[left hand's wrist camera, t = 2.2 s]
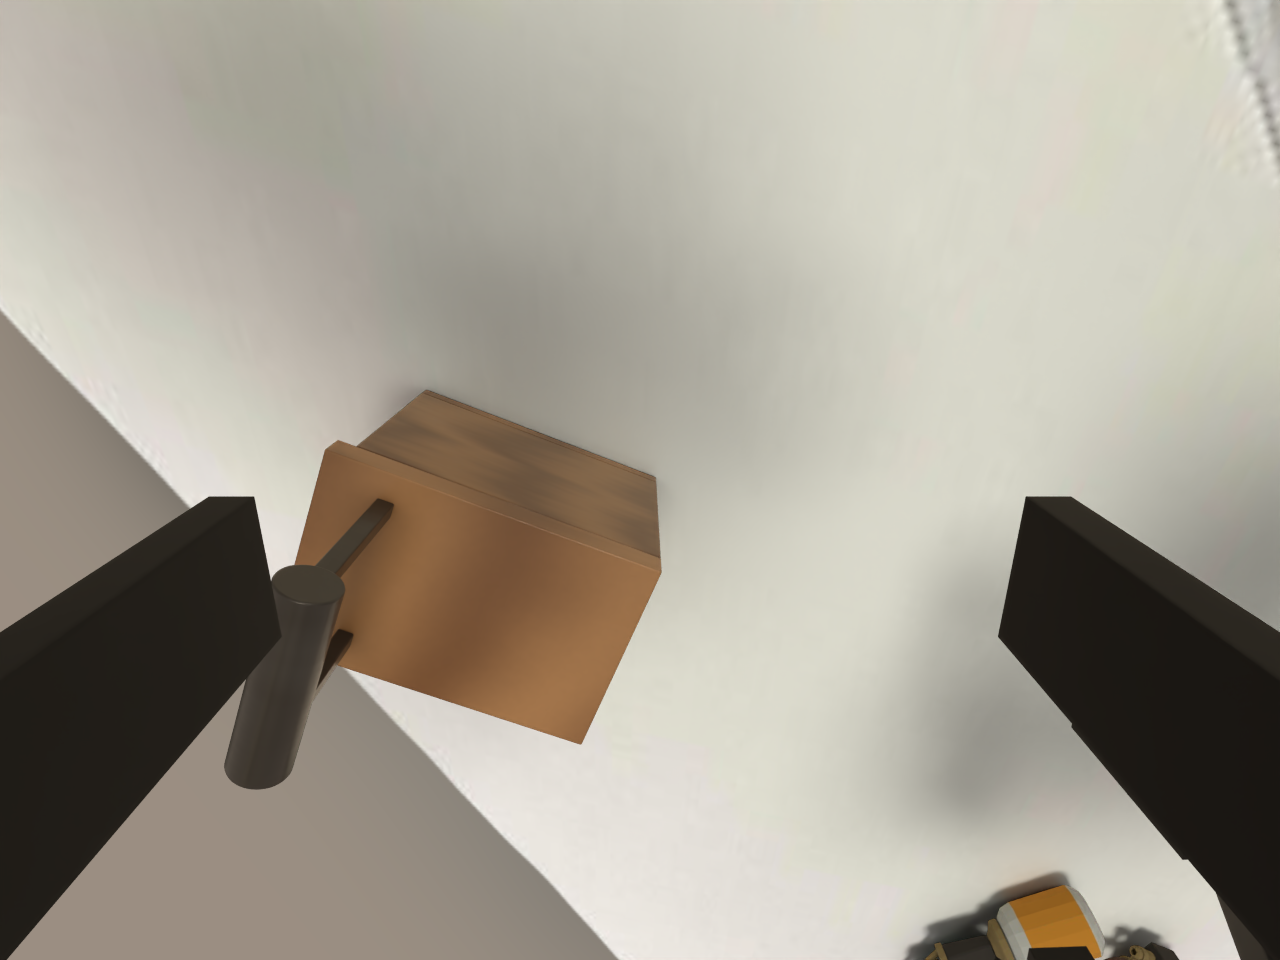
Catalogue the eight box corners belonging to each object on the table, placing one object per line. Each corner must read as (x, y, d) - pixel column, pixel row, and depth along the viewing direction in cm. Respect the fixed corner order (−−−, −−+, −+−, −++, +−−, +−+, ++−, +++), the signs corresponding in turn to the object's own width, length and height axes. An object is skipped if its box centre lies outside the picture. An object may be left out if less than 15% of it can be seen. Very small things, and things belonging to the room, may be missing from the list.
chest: (380, 538, 41) (303, 633, 31) (425, 389, 38) (356, 445, 28) (595, 614, 42) (583, 725, 33) (656, 477, 39) (661, 557, 30)
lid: (286, 628, 31) (151, 786, 23) (337, 439, 28) (205, 538, 20) (583, 726, 33) (563, 907, 24) (661, 558, 30) (669, 696, 21)
